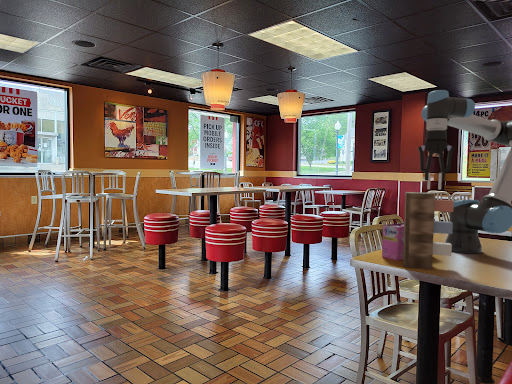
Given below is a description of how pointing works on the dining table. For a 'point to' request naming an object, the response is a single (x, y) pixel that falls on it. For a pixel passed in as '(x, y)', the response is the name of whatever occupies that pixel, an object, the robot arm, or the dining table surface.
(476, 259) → the dining table surface
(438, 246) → the white rectangular block
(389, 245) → the gum box
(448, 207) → the red key
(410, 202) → the brown tall box
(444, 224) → the blue-grey rectangular block
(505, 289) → the dining table surface
